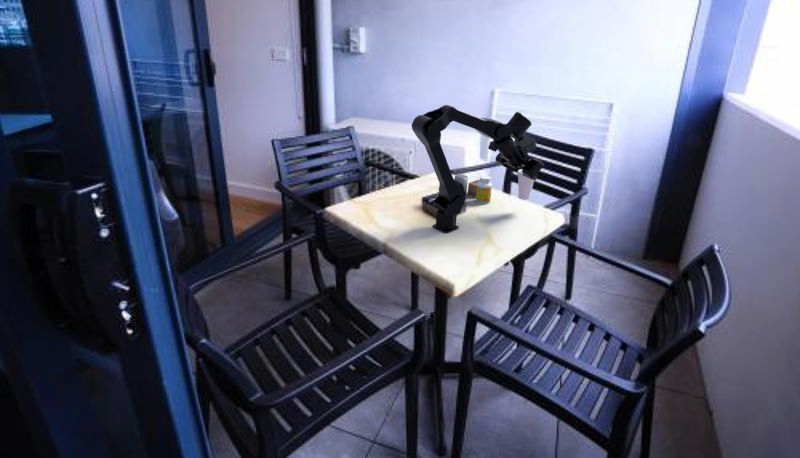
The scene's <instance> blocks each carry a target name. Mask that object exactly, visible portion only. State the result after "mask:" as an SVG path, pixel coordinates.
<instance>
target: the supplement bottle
mask: <svg viewBox="0 0 800 458" xmlns="http://www.w3.org/2000/svg"><path fill="white" fill-rule="evenodd" d="M479 180H480V182H478V184H477V193H476V198H475V202H476V203H477V204H481V205H487V204H488V205H489V204H490V202H491V198H492V189H493V184H492V183H491V181H492V177H491V176H490V175H480V176H479Z"/></svg>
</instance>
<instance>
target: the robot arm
mask: <svg viewBox="0 0 800 458" xmlns="http://www.w3.org/2000/svg"><path fill="white" fill-rule="evenodd" d="M452 122H455V123H458V124H460V125H463V126H466V127H469V128H472V129H473V130H476V131H477V133H478V134H481V135H483V137H486V138H487V139H491V140H492V141H489V144H488V147H487V148H488V150H490V151H493V152H497V151H498V152H499V153H497V155H496V156H495V162H496V163H497V164H498V165H501V166H502V167H504V168H506V169H509V170H511V171H512V172H515V173H518V170H520V169H522V173H523V174H522V175H523V176H525V177H528V178H530V179H532V180H534V182H535V181H537V180H538V176H537V175H538V174H539V173H540V171H541V170H542V169H543V167H544V165H545V164H544V162H543V161H542V160H540V159H538V158H535V157H534V158H530V159H529V160H530V161H529V160H528V159H527V158H528V157H529V153H530V152H532V151H533V150H536V149H537V143H536V138H533V137H531V136H525V135H524V134H525V133H526V132H527V131H528V129H529V128H530V127H531V126H532V122H531V120H530V119H528V118H527V117H526V116H524V115H523V114H522V112H519V111H516V112H515V113H514V114H513V116H511V118H510V120H509V121H508V122H507V123H503V122H501V121H499V120H495V119H493V118H488V117H478V116H476V115H473V114H470V113H469V112H466V111H462V110H460V109H458V108H457V107H456V106H455V107H454V106H451V105H449V104H443V105H442V106H440V107H438V108H437V109H433V110H431V111H428V112H426V113H423V114H420V115H417V116H416V117H415V118H414V119H413V121H412V123H411V129H412V132H413V133H414V135H415V136H416V137H417V139H418V141H420V143H421V144H422V145H423V146H424V147H425V149H426V150H425V151H426V153H427V155H428V158H429V159H430V160H429V161H430V162H431V165H432V168H433V170H434V173H435V175H436V178H437V180H438V183H439V184H438V185H439V187H438V193H439V194H438V195H436V197H435V199H434V200H433V201H432V204H433V207H434V208H436V209H437V210H436V215H435V216H436V218H435V224H433V225H431V226H432V227H431V228H434V229H436V230H438V231H440V232H443V233H445V234H448V233H451V232H453V231H455V230H458V229H459V227H460V226H458V225H457V215H460V214H461V211H462V209H463V206H464V204H465V202H466V201H467V200H466V199H467V194H468V192H467V193H465V191H464V187H463V184H462V183H460V182H458V181H456V180H455V178H454V177H453V174H452V171H451V169H450V166H449V164H448V161H447V158H446V155H445V152H444V150H443V147H442V144H441V138H442V133H441V132H442V131H444V130H445V129H447V127H448V126H449V125H450V123H452ZM523 135H524V136H523ZM465 195H466V197H465Z"/></svg>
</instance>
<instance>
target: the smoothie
mask: <svg viewBox="0 0 800 458" xmlns="http://www.w3.org/2000/svg"><path fill="white" fill-rule="evenodd" d="M529 161H530V159H529ZM522 169H523V168H522ZM522 169H520V170H518V173H517V172H516V173H517V175H518V176H517V177H518V178H517V181H518V182H517V183H518V184H517V185H518V191H517V192H518V194H517V196H518V199H520V200H523V201H524V200H525V201H528V200H530V198H531V193H532V189H533V186H534V182H535V181H534V180H532V179H530V178H528V177H525V176H523V175H522V174H523V173H522Z"/></svg>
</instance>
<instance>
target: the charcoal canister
mask: <svg viewBox="0 0 800 458" xmlns="http://www.w3.org/2000/svg"><path fill="white" fill-rule="evenodd" d="M454 179H455V180H456V181H458V182H460V183H462V184H463V187H464V191H465V193H467V194H468V183H469V177H468V176H467V175H464V174H456V175H454ZM467 194H466V195H465V197H466V198H467Z"/></svg>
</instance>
